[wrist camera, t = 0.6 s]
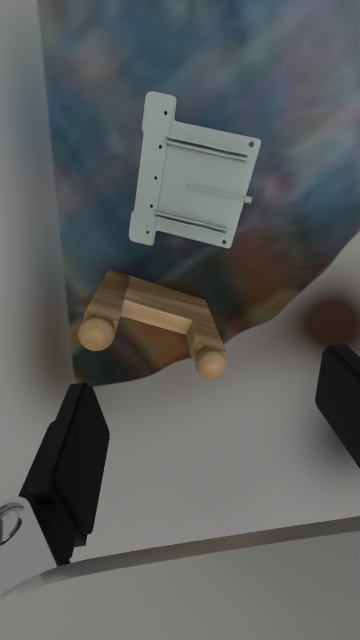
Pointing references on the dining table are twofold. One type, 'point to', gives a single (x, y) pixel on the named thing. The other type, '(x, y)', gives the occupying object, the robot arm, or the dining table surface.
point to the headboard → (153, 318)
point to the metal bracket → (189, 178)
